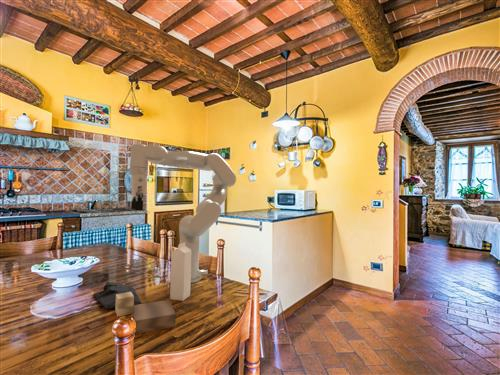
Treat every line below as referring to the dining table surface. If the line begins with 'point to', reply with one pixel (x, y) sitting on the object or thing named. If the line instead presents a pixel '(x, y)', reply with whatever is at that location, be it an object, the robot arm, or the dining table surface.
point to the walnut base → (154, 316)
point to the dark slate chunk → (114, 294)
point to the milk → (180, 273)
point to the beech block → (124, 303)
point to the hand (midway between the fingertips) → (136, 209)
